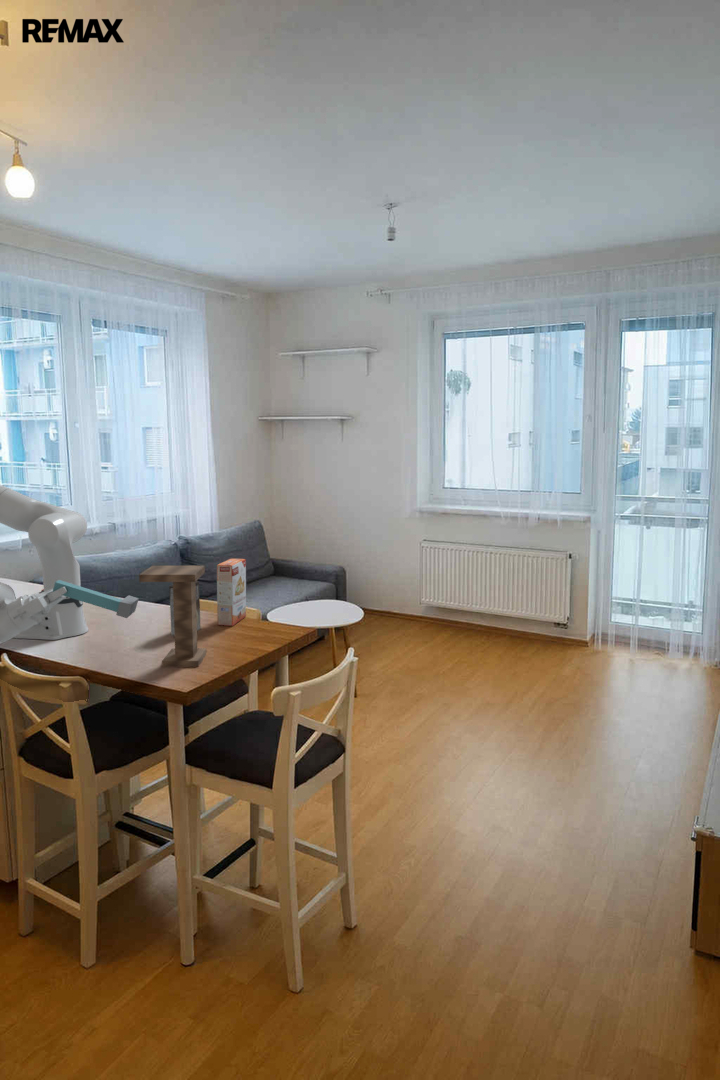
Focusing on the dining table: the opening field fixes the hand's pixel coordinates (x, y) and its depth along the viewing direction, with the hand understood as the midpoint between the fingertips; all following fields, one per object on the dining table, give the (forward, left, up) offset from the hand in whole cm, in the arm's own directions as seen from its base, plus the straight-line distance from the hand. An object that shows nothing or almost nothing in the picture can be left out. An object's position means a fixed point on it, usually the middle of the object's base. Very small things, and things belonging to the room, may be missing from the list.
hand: (69, 587), depth 203 cm
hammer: (+6, 0, -5) cm, 8 cm away
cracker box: (+38, +44, -21) cm, 62 cm away
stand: (+28, 0, -21) cm, 35 cm away
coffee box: (+25, +30, -21) cm, 45 cm away
